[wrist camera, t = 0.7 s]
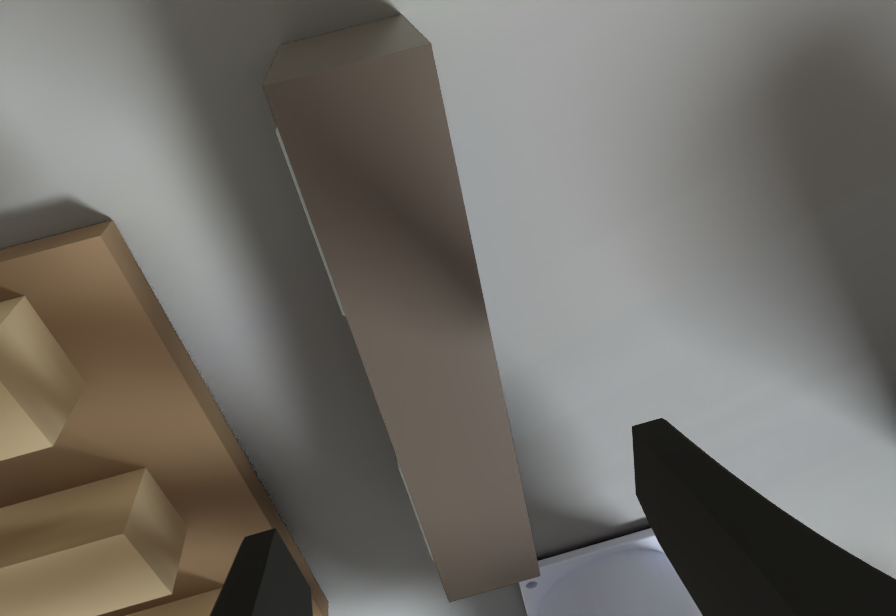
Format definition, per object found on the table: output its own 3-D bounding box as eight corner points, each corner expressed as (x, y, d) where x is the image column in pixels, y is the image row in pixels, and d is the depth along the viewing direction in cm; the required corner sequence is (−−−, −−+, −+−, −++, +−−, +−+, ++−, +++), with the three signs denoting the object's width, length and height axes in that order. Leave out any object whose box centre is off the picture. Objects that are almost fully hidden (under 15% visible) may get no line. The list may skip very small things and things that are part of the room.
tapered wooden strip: (501, 461, 23) (540, 575, 19) (421, 483, 23) (442, 604, 19) (401, 13, 15) (430, 43, 10) (272, 45, 15) (251, 89, 10)
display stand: (328, 601, 26) (328, 688, 23) (95, 669, 25) (64, 765, 22) (112, 219, 16) (63, 284, 13) (-271, 321, 15) (-411, 411, 13)
